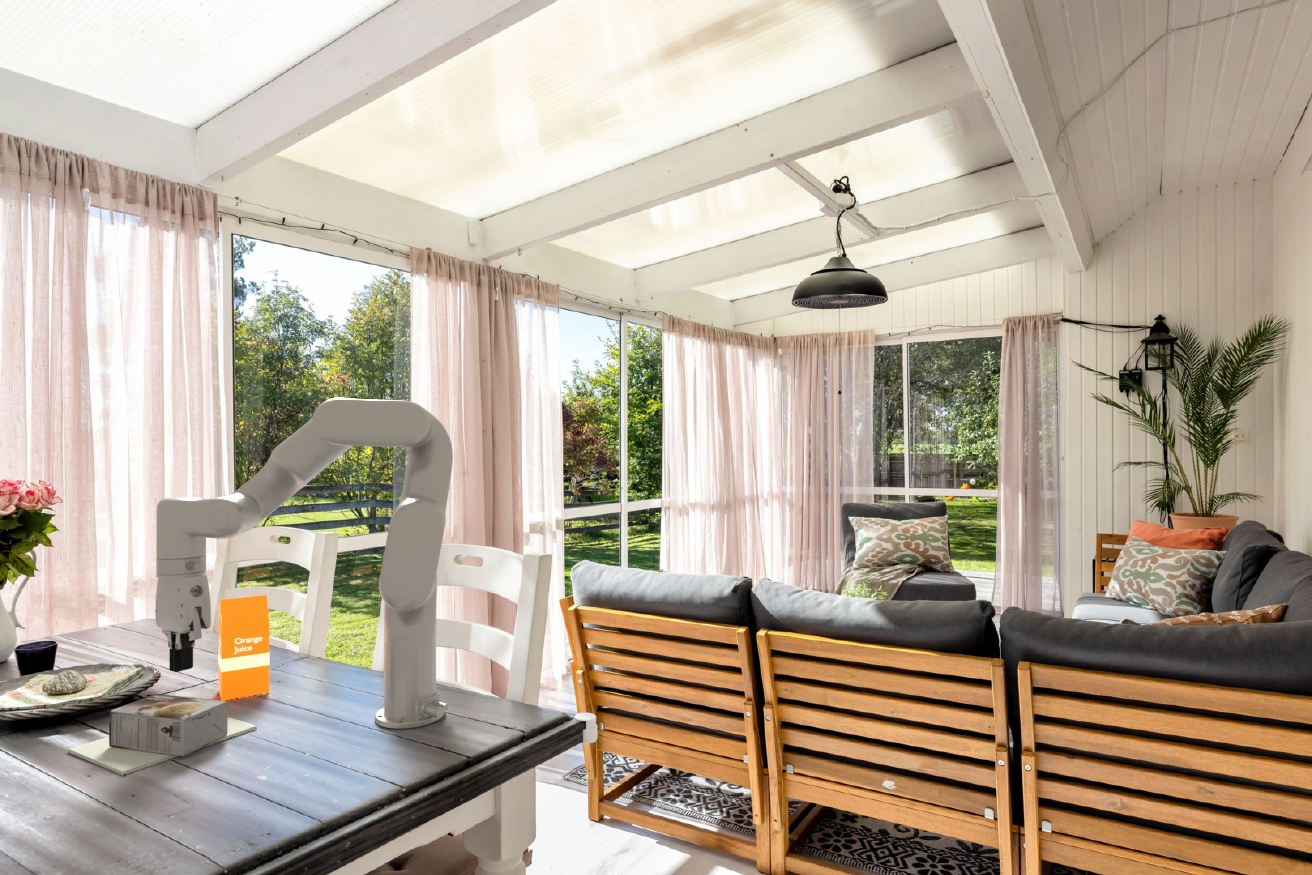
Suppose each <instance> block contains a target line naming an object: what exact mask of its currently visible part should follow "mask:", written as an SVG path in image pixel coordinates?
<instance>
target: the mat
mask: <svg viewBox="0 0 1312 875" xmlns="http://www.w3.org/2000/svg"><path fill="white" fill-rule="evenodd" d="M257 728H258V726H257V725H255V724H252V723H248V722H245V721H242V720H239V719H236V718H233V717H229V716H228V721H227V736H226V737H223V738H221V739H219V740H217V741H215V742H213V743H211V744H212V745H215V744H217V742H218V743H220V741H221V742H223V741H222V740H224V741H226V739H227V740H229V739H228V738H230V739H232V738H234V737H233V736H235V737H238V736H241V735H244V734H246V732H247V733H249V732H248V731H250V732H252V730H253V731H255V730H254V729H256V730H257ZM243 733H244V734H243ZM240 734H241V735H240ZM231 737H232V738H231ZM214 743H215V744H214ZM209 746H211V745H210V744H209ZM204 748H206V746H205V747H204ZM201 749H203V747H202V748H201ZM67 750H68V752H67V753H69V754H71V755H73V756H75V757H79V758H81V759H83V760H86V761H87V762H90V763H93V764H95V765H97V766H99V765H100V766H99V767H103V768H105V770H110V771H111V770H112V772H114V773H117V774H118V775H121V776H125V775H124V774H126V775H129V774H131V772H132V773H134V772H136V770H137V771H140V770H143V769H145V768H144V767H146V768H148V767H147V766H149V765H152V766H154V764H155V765H157V763H158V764H160V763H163V762H166V761H168V759H169V760H172V759H174V757H175V758H177V757H179V756H177V755H169V754H162V753H154V752H147V751H139V750H132V749H125V748H118V747H110V746H109V736H107V737H103V738H99V739H97V740H93V741H90V742H87V743H83V744H79V745H77V746H73V747H70V748H68V749H67ZM171 758H172V759H171ZM162 761H163V762H162ZM159 762H160V763H159ZM149 767H150V766H149ZM142 768H143V769H142ZM133 771H134V772H133Z"/></svg>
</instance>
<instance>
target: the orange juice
mask: <svg viewBox="0 0 1312 875" xmlns="http://www.w3.org/2000/svg"><path fill="white" fill-rule="evenodd" d="M218 620H219V621H218V652H217V653H218V660H217V661H218V662H217V663H218V694H219V693H220V694H219V698H220V697H221V698H220V701H225V700H228V701H231V700H230V699H233V700H236V699H235V698H239V699H241V698H240V697H245V698H249V696H251V697H254V696H253V695H257V694H262V693H269V694H270V663H271V662H270V658H271V657H270V619H269V607H268V595H267V594H265V595H255V596H245V597H236V598H226V599H225V598H224V599H220V605H219V619H218ZM257 696H258V695H257Z"/></svg>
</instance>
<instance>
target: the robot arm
mask: <svg viewBox="0 0 1312 875" xmlns="http://www.w3.org/2000/svg"><path fill="white" fill-rule="evenodd" d="M352 447H379V448H380V447H382V448H383V447H385V448H390V447H392V448H405V451H406V454H407V455H406V456H407V459H406V461H407V462H406V467H405V472H404V478H403V479H404V480H403V485H402V491H401V496H400V500H399V504H398V506H397V507H396V508H395V510H394V512H393V513H392V515H391V518H390V522H389V525H388V530H387V536H386V542H385V547H384V552H383V556H382V557H383V558H382V564H381V569H380V574H379V581H378V591H379V594H380V596H381V599H382V600H383V602H384V606H383V607H384V611H383V612H384V615H383V619H384V620H383V707H381V708H380V709H379V710H377V711H376V713H375V714H374V715H375V716H374V720H375V723H376V724H377V725H379V726H381V727H383V728H387V729H396V730H398V729H399V730H401V729H403V730H405V729H414V728H418V727H419V728H420V727H423V726H427V725H429V724H433V723H434V722H437V721H439V720H441V719H442V718H443V717H444V715H445V712H447V711H448V709H449V704H448V703H446V702H441V697H440V696H441V694H440V692H437V598H438V597H437V594H438V592H437V591H438V573H437V572H438V567H439V561H440V555H441V550H442V545H443V540H444V539H443V538H444V533H445V529H446V523H447V521H446V520H447V518H446V511H447V505H448V504H447V503H448V498H449V493H450V492H449V491H450V487H451V486H450V485H451V478H452V473H453V472H452V471H453V462H454V460H453V459H454V454H453V453H454V451H453V446H452V441H451V438H450V435H449V434H448V431H447V429H446V428H445V426H444V425H443V424H442V422H440V421H439V419H437V417H435V416H434V415H433V414H432V413H431V412H430V411H428V410H427V409H426V408H424V407H423V406H422V405H420V404H418V403H417V402H413V401H409V400H402V399H401V400H400V399H399V400H398V399H397V400H396V399H394V400H393V399H365V398H364V399H362V398H348V397H347V398H346V397H333V398H330V399H327V400H325V401H323V402H321V403H320V404H319V405H318V406H317V407H316V409H315V410H314V412H313V415H312V418H310V419H309V420H308V421H307V422H306V423H305V424H304V425H302V426H301V427H300V428H298V429H297V430H296V431H295V432H293V433H292V434H290V436H288V437H287V438H285V439H284V440H283V441H282V442H280V444H278V445H277V446H276V447H275V448H274V449H273V450H272V451H271V453H270V456H269V458H268V460H267V462H266V463H265V465H263V467H261V469H260V470H259V471H258V472H257V473H255V475H254V476H252V477H251V478H250V479H249V480H248V481H246V482H245V483H244V484H243V485H241V486H240V487H238V489H236V490H235V491H234V492H232V493H231V494H227V495H224V496H219V497H218V496H217V497H213V498H205V499H202V498H201V497H196V496H177V497H167V498H163V499H161V500H160V501H158V503H157V505H156V539H155V540H156V545H155V546H156V552H155V553H156V554H155V556H156V559H155V560H156V563H155V564H156V568H155V569H156V574H155V575H156V578H157V584H156V593H155V594H156V595H155V610H154V611H155V624H156V626H157V627H158V628H159V629H161V632H162V634H163V635H165V636H166V637H167V646H168V648H169V650H168V652H169V653H168V654H169V656H168V657H169V665H168V666H169V671H170V672H174V673H179V672H182V671H187V670H191V669H193V667H194V647H195V644H196V640H200V639H202V637H203V635H202V633H203V632H202V629H203V630H208V629H210V628H211V624H212V608H211V607H212V605H211V593H210V592H211V591H210V585H209V580H208V579H209V578H208V575H207V574H206V573H207V538H209V539H218V540H223V539H224V540H225V539H231V538H234V537H236V536H238V535H242V534H244V533H246V532H249V531H251V530H252V529H253V528H255V527H257V525H259V524H260V523H261V522H263V521H264V520H265V519H266V518H267V517H269V516H270V515H271V514H272V513H273V512H275V511H277V509H279V508H280V507H281V506H282V505H283V504H285V503H286V502H287V501H288V500H290V498H291V497H293V495H295V494H296V493H297V492H299V491H300V490H302V489H303V488H304V487H305V486H306V485H307V484H308V483H310V482H311V481H312V480H314V478H315V477H317V476H318V475H319V474H320V473H322V472H323V471H324V470H325V469H326V468H327V467H328V466H330V465H331V464H332V463H333V462H334V461H336V460H337V459H338V458H340V457H341V456H343V455H344V453H346V452H347V451H349V450H350V449H351V448H352Z"/></svg>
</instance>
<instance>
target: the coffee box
mask: <svg viewBox="0 0 1312 875" xmlns="http://www.w3.org/2000/svg"><path fill="white" fill-rule="evenodd" d="M228 705H229V703H228V701H221V700H217V699H216V700H215V699H205V698H197V697H189V696H178V695H170V694H158V693H154V694H152V695H149V696H145V697H143V698H140V699H138V700H135V701H133V702H129V703H127V704H124V705H122V706H120V707H117V708H114V709H111V710H110V711H109V713H110V716H109V718H110V721H109V724H108V737H109V746H110V747H118V748H125V749H132V750H139V751H147V752H154V753H162V754H169V755H177V756H178V757H185V756H187V755H190V754H192V753H194V752H196V751H198V750H200V748H201V749H203V748H202V747H204V748H206V747H205V746H207V745H209V744H211V743H213V742H215V741H217V740H219V739H221V738H223V737H226V736H227V721H228V717H229V716H228V714H229V713H228V712H229V711H228ZM209 746H210V745H209ZM207 747H208V746H207Z"/></svg>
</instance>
